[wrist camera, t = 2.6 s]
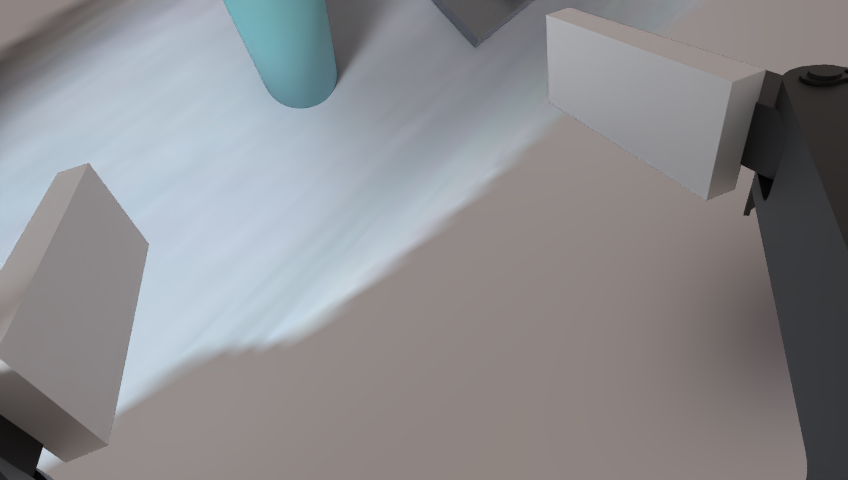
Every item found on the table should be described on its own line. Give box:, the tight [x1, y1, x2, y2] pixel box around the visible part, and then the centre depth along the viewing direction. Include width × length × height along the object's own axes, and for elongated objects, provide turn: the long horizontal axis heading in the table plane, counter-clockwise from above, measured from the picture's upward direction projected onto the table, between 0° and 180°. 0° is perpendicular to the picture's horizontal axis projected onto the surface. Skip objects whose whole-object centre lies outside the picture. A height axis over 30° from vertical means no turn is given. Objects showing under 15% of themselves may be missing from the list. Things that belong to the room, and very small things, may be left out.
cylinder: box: [223, 0, 337, 108], centre depth 23 cm, size 4×4×12 cm
